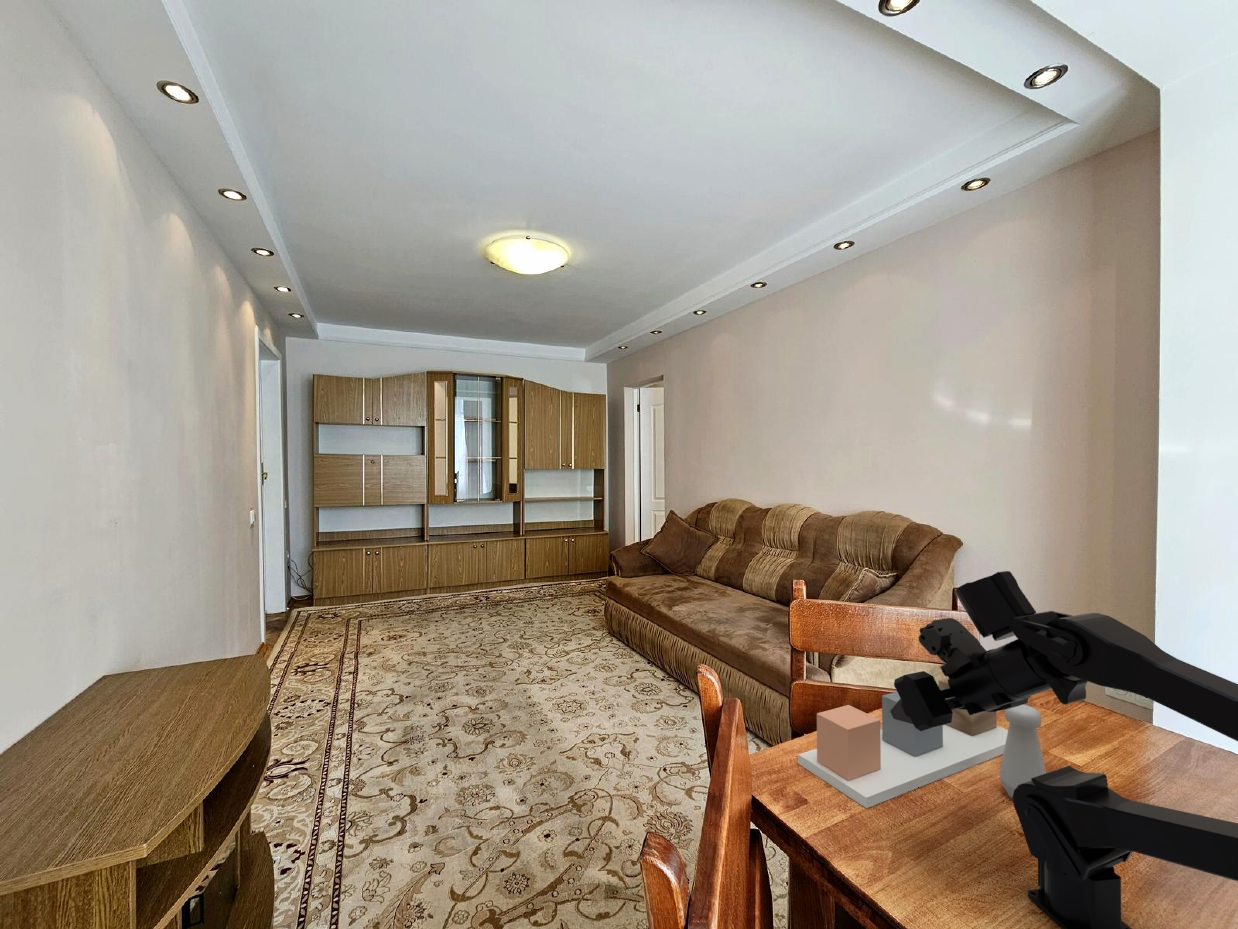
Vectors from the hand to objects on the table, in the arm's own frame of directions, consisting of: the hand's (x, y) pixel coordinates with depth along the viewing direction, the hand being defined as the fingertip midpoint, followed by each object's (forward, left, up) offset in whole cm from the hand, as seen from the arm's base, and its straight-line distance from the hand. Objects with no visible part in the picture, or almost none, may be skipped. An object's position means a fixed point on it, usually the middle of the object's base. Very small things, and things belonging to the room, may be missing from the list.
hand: (916, 709), depth 76 cm
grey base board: (+14, -9, -14) cm, 22 cm away
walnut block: (+20, -23, -13) cm, 33 cm away
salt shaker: (+1, -17, -14) cm, 23 cm away
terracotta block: (+9, +5, -13) cm, 16 cm away
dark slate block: (+15, -9, -13) cm, 21 cm away
